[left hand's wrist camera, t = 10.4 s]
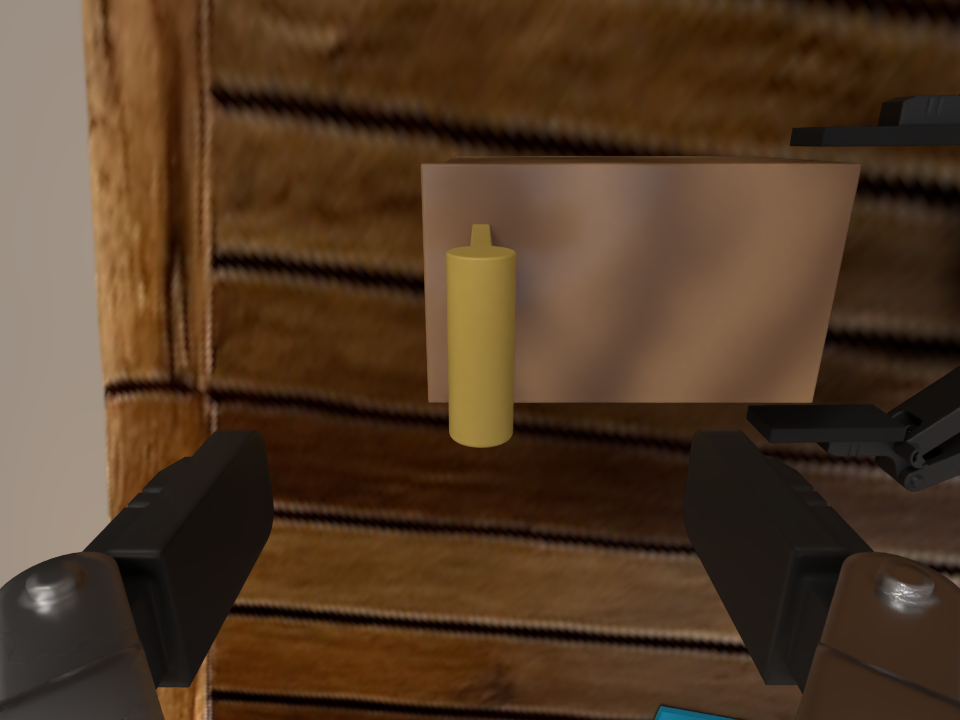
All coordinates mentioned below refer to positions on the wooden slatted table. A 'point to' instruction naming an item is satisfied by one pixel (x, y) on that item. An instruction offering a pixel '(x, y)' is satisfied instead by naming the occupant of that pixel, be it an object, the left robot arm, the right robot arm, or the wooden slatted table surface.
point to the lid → (627, 283)
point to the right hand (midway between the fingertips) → (779, 292)
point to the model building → (684, 715)
